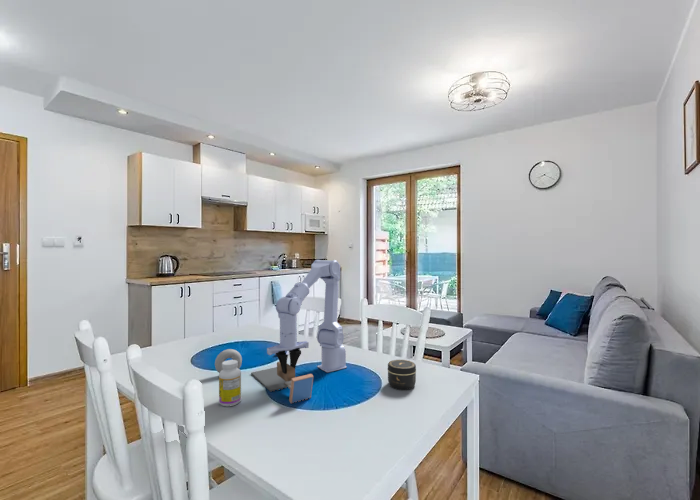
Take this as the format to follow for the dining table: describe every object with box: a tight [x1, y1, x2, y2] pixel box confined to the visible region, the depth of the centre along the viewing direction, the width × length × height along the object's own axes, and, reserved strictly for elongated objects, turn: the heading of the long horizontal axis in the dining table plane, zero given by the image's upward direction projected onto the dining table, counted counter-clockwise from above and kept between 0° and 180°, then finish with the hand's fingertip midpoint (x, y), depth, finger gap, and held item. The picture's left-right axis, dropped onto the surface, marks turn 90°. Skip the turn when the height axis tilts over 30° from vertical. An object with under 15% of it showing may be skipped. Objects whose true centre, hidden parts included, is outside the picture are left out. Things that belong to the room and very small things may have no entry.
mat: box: [251, 366, 287, 392], centre depth 129 cm, size 11×20×1 cm, turn 34°
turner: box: [276, 361, 296, 390], centre depth 118 cm, size 16×6×4 cm, turn 34°
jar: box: [387, 359, 417, 391], centre depth 123 cm, size 10×10×8 cm
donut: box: [214, 348, 243, 374], centre depth 133 cm, size 10×4×10 cm, turn 119°
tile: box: [288, 373, 314, 404], centre depth 110 cm, size 7×2×8 cm, turn 124°
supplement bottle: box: [218, 359, 242, 407], centre depth 110 cm, size 7×7×13 cm
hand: (288, 371), depth 118 cm, fingers closed on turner, 2 cm apart
